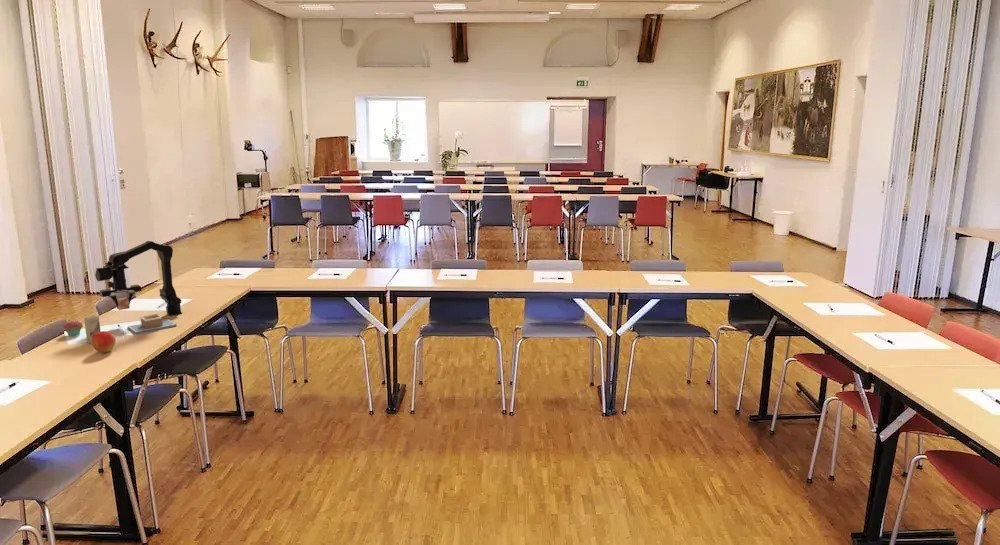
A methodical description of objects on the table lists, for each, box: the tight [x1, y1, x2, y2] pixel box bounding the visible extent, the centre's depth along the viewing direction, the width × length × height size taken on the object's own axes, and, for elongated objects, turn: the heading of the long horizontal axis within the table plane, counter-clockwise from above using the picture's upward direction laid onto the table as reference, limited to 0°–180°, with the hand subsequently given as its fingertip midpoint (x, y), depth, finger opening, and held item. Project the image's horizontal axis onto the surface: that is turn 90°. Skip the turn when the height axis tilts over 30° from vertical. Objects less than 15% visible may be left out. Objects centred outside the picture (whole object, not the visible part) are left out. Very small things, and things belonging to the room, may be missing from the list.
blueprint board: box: [127, 313, 178, 335], centre depth 349 cm, size 20×14×6 cm
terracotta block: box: [116, 297, 131, 311], centre depth 351 cm, size 5×5×5 cm
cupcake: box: [62, 313, 84, 337], centre depth 336 cm, size 9×8×12 cm
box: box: [83, 315, 102, 344], centre depth 325 cm, size 5×4×13 cm
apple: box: [92, 330, 116, 354], centre depth 311 cm, size 10×10×10 cm
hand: (122, 306), depth 352 cm, fingers closed on terracotta block, 5 cm apart
